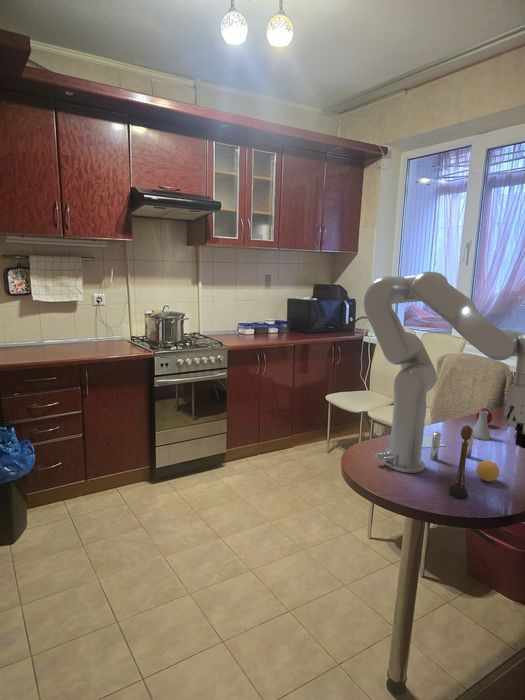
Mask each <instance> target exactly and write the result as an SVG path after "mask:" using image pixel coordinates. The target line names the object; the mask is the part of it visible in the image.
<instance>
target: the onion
mask: <svg viewBox="0 0 525 700" xmlns="http://www.w3.org/2000/svg"><path fill="white" fill-rule="evenodd" d="M479 411H486V412H488V415H487V424H488V425H489V424H490V423H492V420H493V415H492V412H491V411H490V410H489V409H488V407H487V406H484V407H483V408H481V409H479V410H478V411H477V413H476V415H475V417H476V420H477V421H478V418H479V414H480V413H479Z"/></svg>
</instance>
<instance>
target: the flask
mask: <svg viewBox="0 0 525 700" xmlns="http://www.w3.org/2000/svg"><path fill="white" fill-rule="evenodd" d="M478 411H479V410H478ZM479 413H480V414H479V418H478V421H477V422H476V423H475V425H474V426H473V428H472V429H473V431H474V438H473V439H476V440H482V441H489V440H491V439H492V437H491V433H490V430H489V423H488V424H487V415H488V412H486V411H479Z"/></svg>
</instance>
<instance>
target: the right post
mask: <svg viewBox="0 0 525 700" xmlns="http://www.w3.org/2000/svg"><path fill="white" fill-rule="evenodd" d="M474 439H475V438H474V431H472V436H471V438H470V439H469V440H467V443H468V447H467V454H466V459H471V458H472V453H473V452H472V451H473V444H474Z"/></svg>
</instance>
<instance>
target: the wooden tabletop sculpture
mask: <svg viewBox="0 0 525 700" xmlns="http://www.w3.org/2000/svg"><path fill="white" fill-rule="evenodd" d="M472 431H473V428H472V427H471V426H470V425H465V426H463V427H462V428H461V431H460V437H461V439H462V440H463V442H461V449H460V457H459V463H458V469H457V472H456V475H455V476H456V477H455V480H454V482H453V484H452V485H451V486H450V487H449V489H448V494H449V496H451V497H452V498H454V499H458V500H467V499H468V498H469V492H468V488H467V487H466V482H465V481H466V480H465V479H466V478H465V473H466V472H465V471H466V461H467V458H466V454H467V447H468V443H467V440H469V439H470V438H471V436H472Z"/></svg>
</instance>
